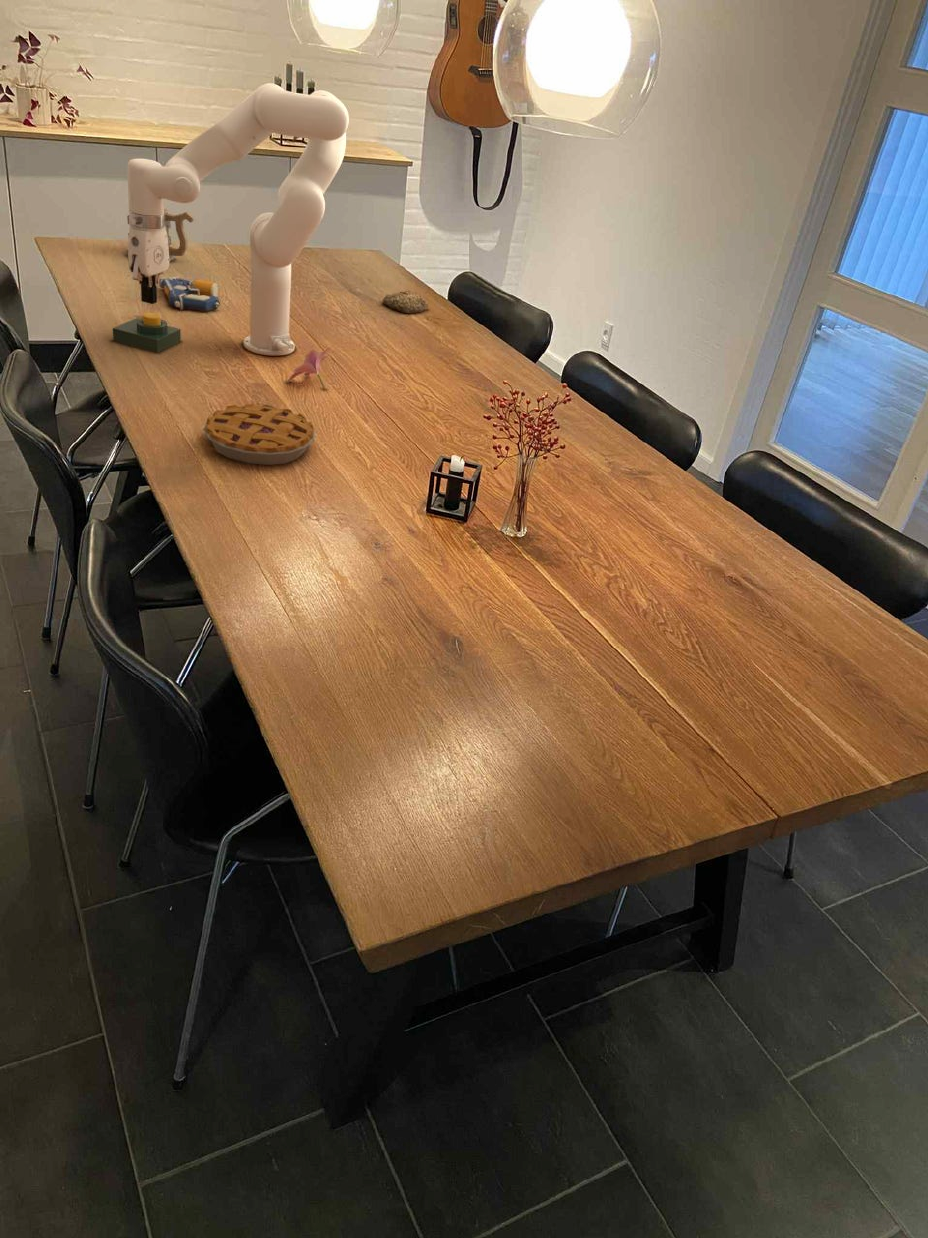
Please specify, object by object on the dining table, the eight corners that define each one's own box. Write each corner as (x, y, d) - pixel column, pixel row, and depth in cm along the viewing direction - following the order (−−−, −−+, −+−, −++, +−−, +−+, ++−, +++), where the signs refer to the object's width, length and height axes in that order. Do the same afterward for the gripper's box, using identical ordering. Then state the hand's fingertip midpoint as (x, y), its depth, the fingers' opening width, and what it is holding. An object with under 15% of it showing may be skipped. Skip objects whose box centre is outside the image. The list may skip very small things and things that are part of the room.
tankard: (121, 257, 276) (117, 204, 268) (140, 248, 286) (137, 197, 278) (185, 270, 275) (183, 217, 266) (202, 261, 285) (201, 209, 277)
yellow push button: (164, 323, 223) (163, 315, 222) (154, 328, 219) (154, 319, 218) (149, 320, 223) (149, 311, 222) (139, 324, 220) (139, 315, 219)
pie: (223, 414, 196) (223, 392, 194) (325, 432, 196) (326, 410, 194) (188, 456, 178) (188, 432, 176) (300, 476, 178) (301, 452, 176)
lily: (334, 380, 224) (318, 342, 220) (352, 379, 214) (336, 339, 210) (290, 399, 220) (274, 360, 216) (306, 399, 210) (289, 358, 206)
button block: (180, 341, 227) (180, 321, 224) (157, 353, 219) (156, 332, 216) (137, 330, 229) (136, 310, 227) (113, 341, 221) (111, 320, 218)
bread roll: (402, 315, 270) (404, 298, 267) (377, 302, 277) (378, 285, 274) (435, 311, 278) (437, 295, 275) (410, 298, 285) (412, 282, 282)
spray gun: (212, 288, 265) (158, 288, 258) (212, 273, 262) (157, 272, 256) (229, 314, 250) (172, 314, 244) (229, 298, 248) (171, 298, 241)
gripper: (142, 229, 201) (144, 313, 212) (179, 218, 214) (180, 298, 224) (112, 221, 203) (116, 305, 213) (151, 211, 215) (153, 291, 225)
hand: (149, 301), depth 218 cm, fingers closed
